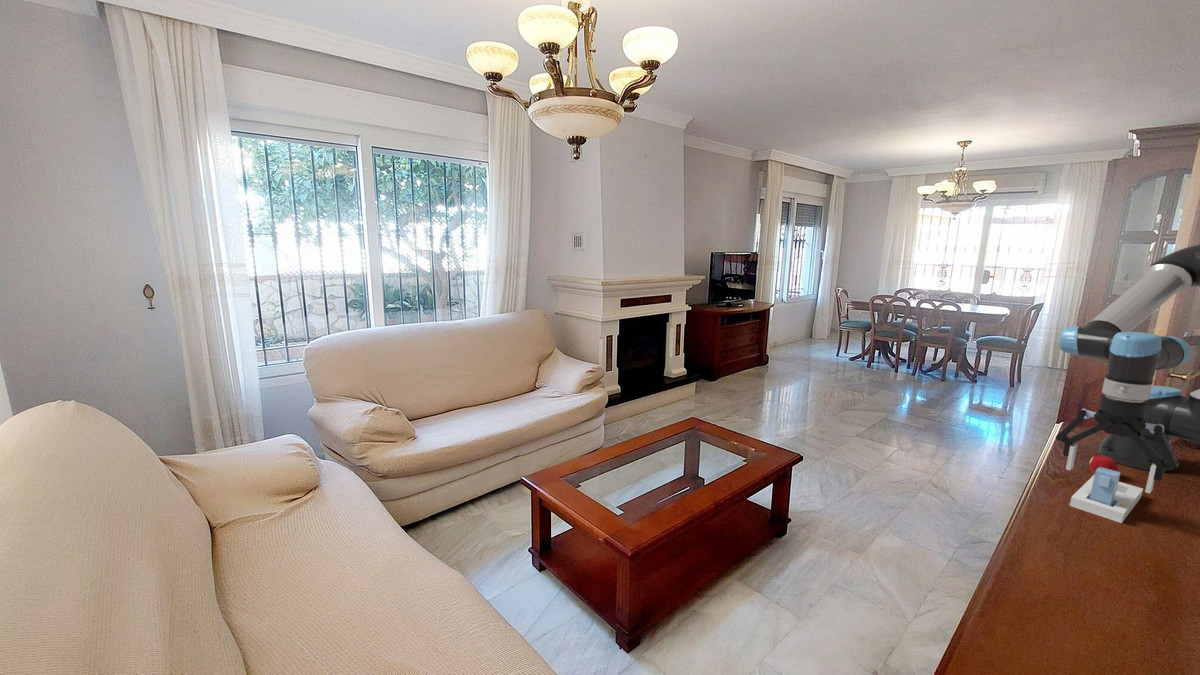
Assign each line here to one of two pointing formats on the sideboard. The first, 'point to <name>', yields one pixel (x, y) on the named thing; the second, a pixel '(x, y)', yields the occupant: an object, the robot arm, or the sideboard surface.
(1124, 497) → the panel
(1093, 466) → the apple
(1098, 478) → the plug
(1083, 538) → the sideboard surface
